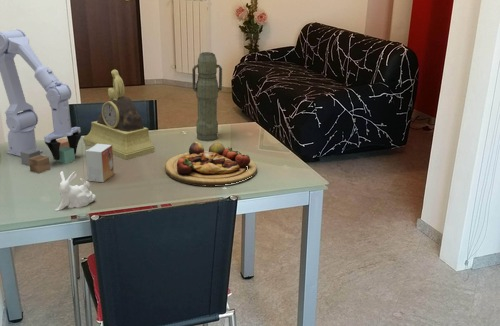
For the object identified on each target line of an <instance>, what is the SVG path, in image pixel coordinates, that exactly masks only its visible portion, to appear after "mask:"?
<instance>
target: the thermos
mask: <svg viewBox="0 0 500 326" xmlns="http://www.w3.org/2000/svg"><path fill="white" fill-rule="evenodd" d="M217 62H218V60H217V57H216V54H215V53H213V52H208V51H207V52H201V53H199V56H198V58H197V63H196V64H195V65H194V66H193V67H192V71H191V72H192V73H191V74H192V79H191V80H192V90H193V91H194V92H195V93H196V98H197V120H196V129H195V131H196V139H197V140H199V141H202V142H211V141H212V142H213V141H216V140H218V133H219V123H218V119H217V117H218V115H217V114H218V111H217V110H218V107H217V106H218V105H217V104H218V103H217V102H218V97H219V92H220V91H221V92H222V91H223V90H222V89H223V68H222V66H221V65H220V64H218V63H217ZM196 69H197V75H198V76H197V80H196ZM217 69H219V70H217ZM217 72H218V77H217ZM217 78H218V79H217Z"/></svg>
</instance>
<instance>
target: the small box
mask: <svg viewBox="0 0 500 326" xmlns="http://www.w3.org/2000/svg"><path fill="white" fill-rule="evenodd" d="M85 158H86V161H85V162H86V169H87V171H86V172H87V180H88V182H96V183H99V182H100V183H104V182H106V181H107V180H108V179H110V178H111V177H113V176H114V174H115V169H114V155H113V150H112V145H107V144H96V145H95V146H91V147H90V148H88V149H86V150H85Z"/></svg>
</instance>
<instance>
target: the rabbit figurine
mask: <svg viewBox="0 0 500 326" xmlns="http://www.w3.org/2000/svg"><path fill="white" fill-rule="evenodd" d="M77 176H78V173H77V171H73V172H72V173H71V174H70V175H69V176H68V177H67V178H65V174H64V171H63V170H62V171H60V172H59V177H60V180H61V182H60V183H59V188H58V189H59V192H60V196H61V198H62V199H61V200H60V203H59V206H58V207H56V208H55V209H53V211H55V212H58V211H62V210H63V209H64V208H66V207H67V208H68V209H73V208H82V207H84V206H85V207H86V206H88V205H89V204H91V203H92V202H93V201H95V199H96V194H94V193H93V192H92V190H90V189H89V187H91V183H90V181H87V180H86V179H84V178H82V177H81V178H79V180H80V181H81V182H83V184H81V185H79V184H75V185H71V184H70V182H71V181H73V180H74V179H75V178H76V177H77Z"/></svg>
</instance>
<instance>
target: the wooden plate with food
mask: <svg viewBox="0 0 500 326" xmlns="http://www.w3.org/2000/svg"><path fill="white" fill-rule="evenodd" d="M246 166H248V170H247V167H246ZM164 170H165V172H166V174H167V175H168V176H169V177H171V178H172V179H174V180H176V181H178V182H180V183H184V184H188V185H192V184H194V185H193V186H198V185H206V186H205V187H216V186H215V185H225V184H231V183H236V182H239V181H242V180H245V179H247V178H249V177H251V176H253V175H254V174H255V173H256V174H257V172H258V168H257V165H256V163H255V161H254V160H252V159H251V158H250V156H249V154H246V155H245V154H242V153H241V152H240V151H238V150H233V148H232V147H229V146H228V147H225V146H224V145H223V144H222V143H221V142H219V141H216V142H214V143H213V144H211V145H210V146H209V148H208V150H205V149H204V146H203V144H202V143H200V142H198V141H193V142H192V143H191V145H190V146H189V148H188V151H187V152H183V153H181V154H180V153H179V154H177V155H174V156H172V157H171V158H168V160H167V162H166V163H165V165H164ZM246 170H247V171H246ZM256 171H257V172H256ZM256 174H255V175H256ZM255 175H254V176H255ZM254 176H253V177H254Z"/></svg>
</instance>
